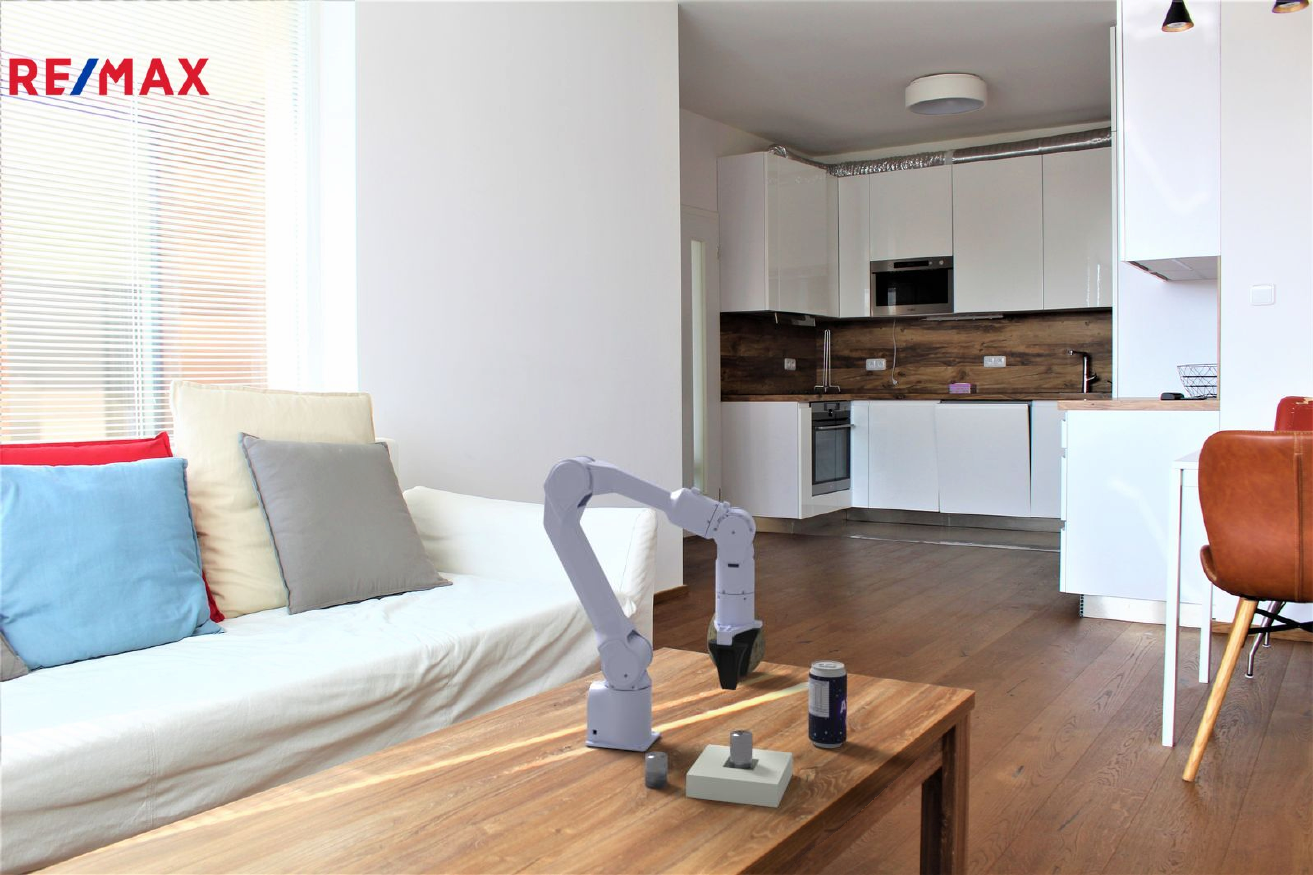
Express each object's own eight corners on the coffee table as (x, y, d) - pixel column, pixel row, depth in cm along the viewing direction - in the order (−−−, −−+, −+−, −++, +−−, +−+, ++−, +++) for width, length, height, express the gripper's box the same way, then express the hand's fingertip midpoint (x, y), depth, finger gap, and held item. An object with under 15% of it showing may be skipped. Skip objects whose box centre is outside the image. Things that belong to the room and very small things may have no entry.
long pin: (727, 788, 138) (728, 736, 137) (732, 780, 141) (732, 729, 140) (750, 790, 137) (750, 738, 137) (753, 782, 140) (754, 731, 140)
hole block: (686, 796, 135) (686, 774, 135) (708, 765, 146) (708, 744, 146) (777, 807, 131) (777, 784, 131) (792, 774, 143) (792, 752, 143)
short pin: (642, 787, 138) (642, 758, 138) (648, 779, 141) (648, 750, 141) (663, 790, 137) (663, 760, 137) (670, 781, 140) (670, 752, 140)
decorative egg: (715, 666, 199) (715, 589, 198) (770, 671, 195) (771, 592, 195) (700, 681, 189) (700, 599, 188) (757, 686, 185) (758, 603, 184)
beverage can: (846, 751, 152) (846, 670, 151) (807, 748, 153) (807, 668, 153) (846, 738, 158) (847, 660, 157) (809, 736, 159) (809, 658, 158)
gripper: (751, 602, 144) (751, 698, 145) (770, 583, 158) (770, 671, 159) (702, 599, 146) (702, 693, 147) (725, 581, 160) (725, 667, 161)
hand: (734, 682), depth 153 cm, fingers open, 7 cm apart
